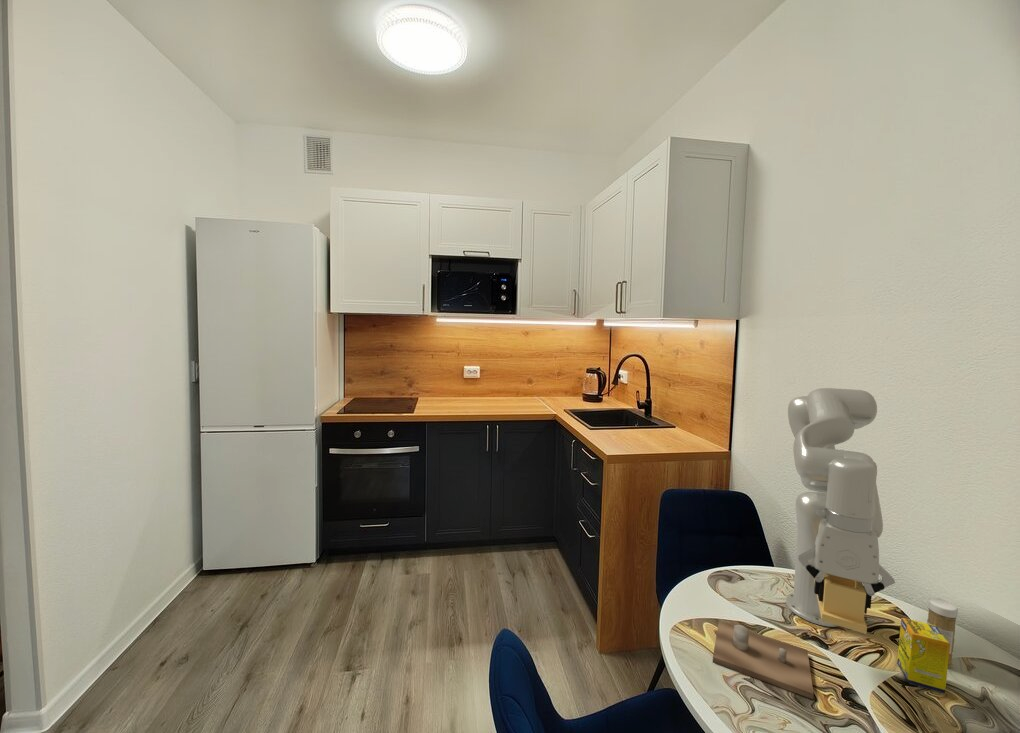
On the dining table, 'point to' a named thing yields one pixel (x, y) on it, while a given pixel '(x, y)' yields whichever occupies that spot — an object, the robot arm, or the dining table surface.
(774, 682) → the base
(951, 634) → the sprinkles bottle
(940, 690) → the supplement box
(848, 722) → the dining table surface
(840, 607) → the tan stepped holder block
